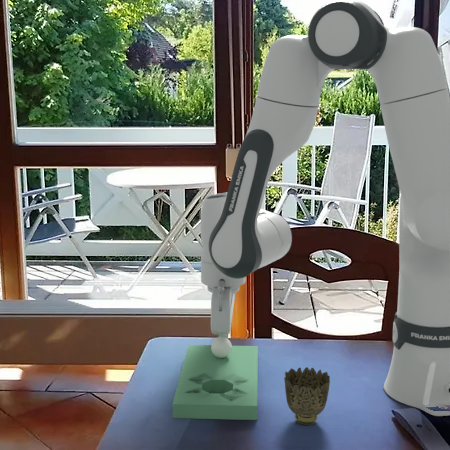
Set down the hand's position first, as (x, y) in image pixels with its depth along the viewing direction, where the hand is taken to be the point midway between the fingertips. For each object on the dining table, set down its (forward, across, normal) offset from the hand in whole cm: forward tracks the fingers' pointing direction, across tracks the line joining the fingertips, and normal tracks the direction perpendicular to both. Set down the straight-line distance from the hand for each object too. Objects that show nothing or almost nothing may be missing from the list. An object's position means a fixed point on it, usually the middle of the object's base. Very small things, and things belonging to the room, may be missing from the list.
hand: (223, 339), depth 137 cm
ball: (-1, -6, 0) cm, 6 cm away
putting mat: (+4, -13, 0) cm, 13 cm away
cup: (+4, -26, -15) cm, 30 cm away
